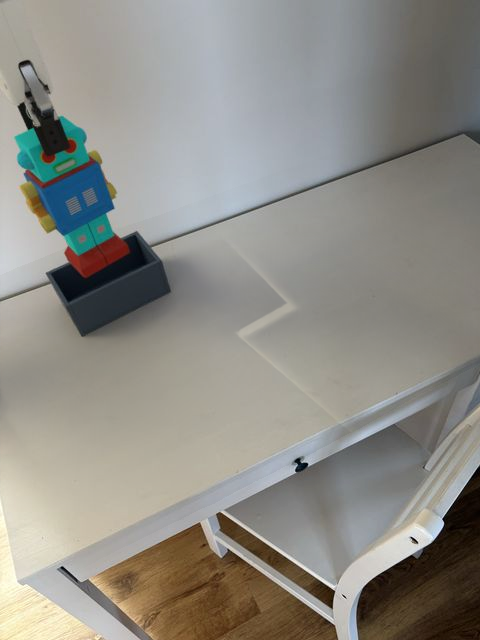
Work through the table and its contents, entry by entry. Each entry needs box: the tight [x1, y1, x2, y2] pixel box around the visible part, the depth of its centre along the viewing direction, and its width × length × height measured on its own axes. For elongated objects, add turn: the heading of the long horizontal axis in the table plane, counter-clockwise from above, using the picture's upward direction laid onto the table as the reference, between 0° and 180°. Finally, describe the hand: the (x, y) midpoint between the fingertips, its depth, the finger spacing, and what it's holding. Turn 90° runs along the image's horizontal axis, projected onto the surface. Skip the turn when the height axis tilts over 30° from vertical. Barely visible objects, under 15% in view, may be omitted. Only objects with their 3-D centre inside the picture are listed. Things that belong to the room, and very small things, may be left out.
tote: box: [45, 230, 172, 337], centre depth 94 cm, size 17×10×8 cm, turn 124°
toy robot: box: [13, 107, 130, 278], centre depth 74 cm, size 12×6×25 cm, turn 131°
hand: (49, 139), depth 68 cm, fingers closed on toy robot, 5 cm apart
